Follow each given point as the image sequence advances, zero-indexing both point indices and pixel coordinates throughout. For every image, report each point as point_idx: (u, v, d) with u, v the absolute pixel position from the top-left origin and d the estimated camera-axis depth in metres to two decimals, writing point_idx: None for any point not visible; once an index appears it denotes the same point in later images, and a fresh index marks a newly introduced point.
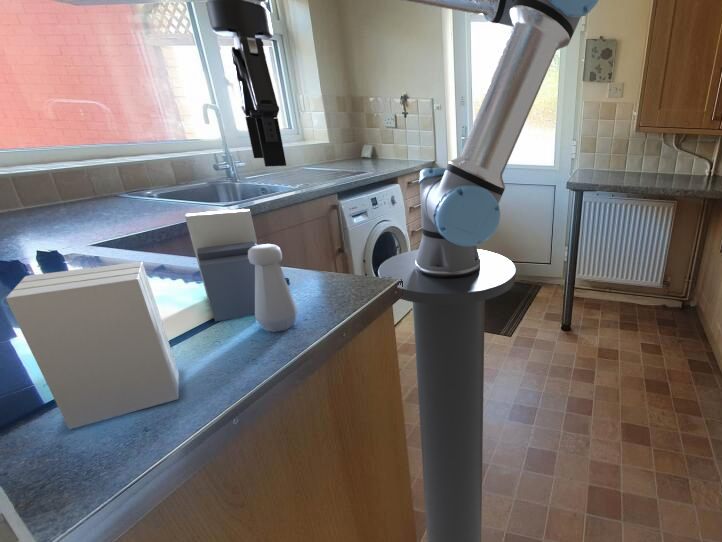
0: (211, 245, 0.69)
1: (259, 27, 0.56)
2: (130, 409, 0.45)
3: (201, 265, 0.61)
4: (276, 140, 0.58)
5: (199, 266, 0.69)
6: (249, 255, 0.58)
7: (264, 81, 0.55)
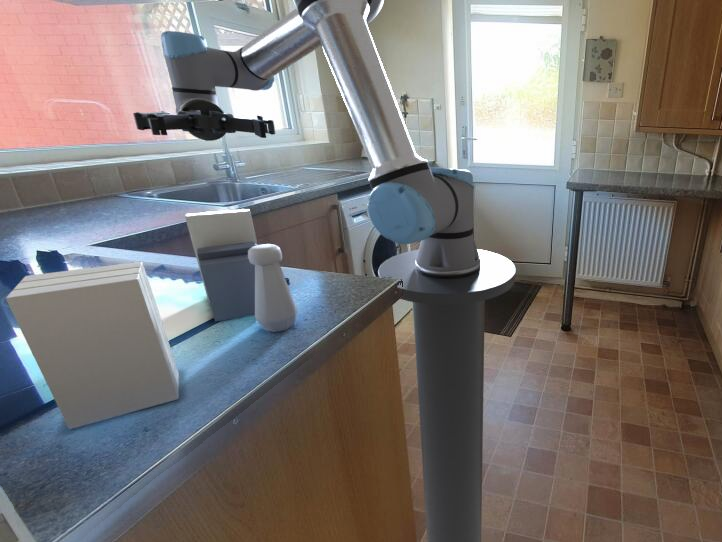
0: (211, 245, 0.69)
1: (181, 109, 0.77)
2: (130, 409, 0.45)
3: (201, 265, 0.61)
4: (149, 120, 0.65)
5: (199, 266, 0.69)
6: (249, 255, 0.58)
7: None
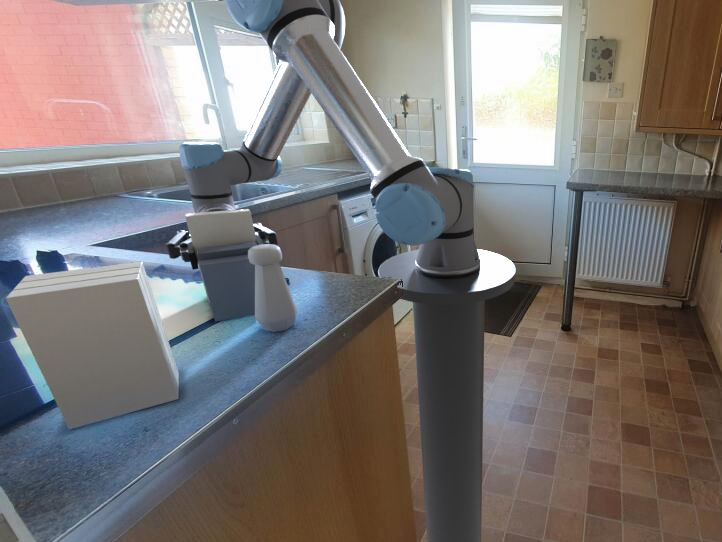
0: (211, 245, 0.69)
1: None
2: (130, 409, 0.45)
3: (201, 265, 0.61)
4: (181, 253, 0.67)
5: (199, 266, 0.69)
6: (249, 255, 0.58)
7: None
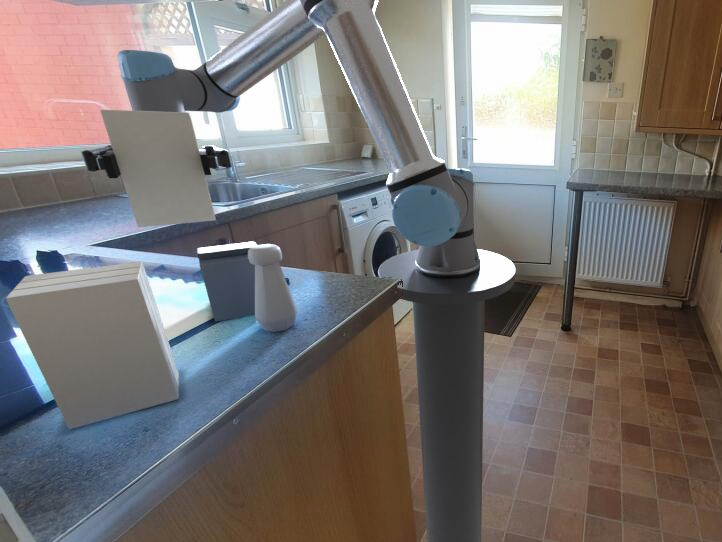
0: (138, 153, 0.54)
1: None
2: (130, 409, 0.45)
3: (201, 265, 0.61)
4: (97, 160, 0.52)
5: (123, 179, 0.54)
6: (249, 255, 0.58)
7: None
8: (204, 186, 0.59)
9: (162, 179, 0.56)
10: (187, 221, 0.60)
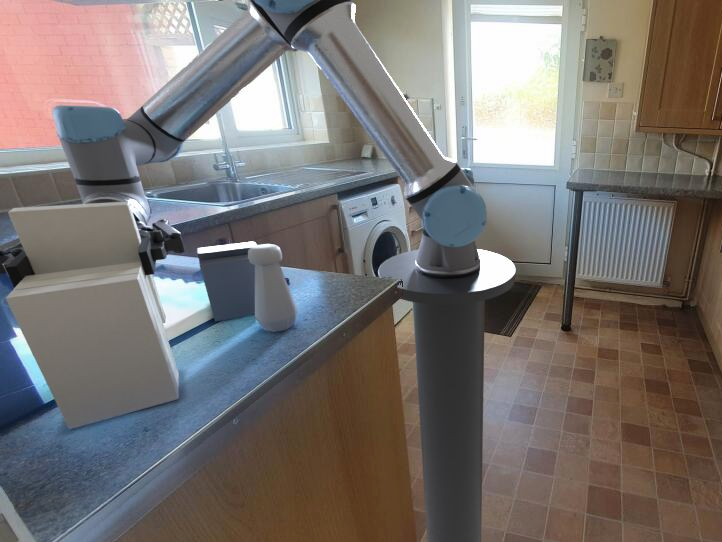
0: (61, 257, 0.44)
1: None
2: (130, 409, 0.45)
3: (201, 265, 0.61)
4: (4, 266, 0.42)
5: None
6: (249, 255, 0.58)
7: None
8: None
9: None
10: None
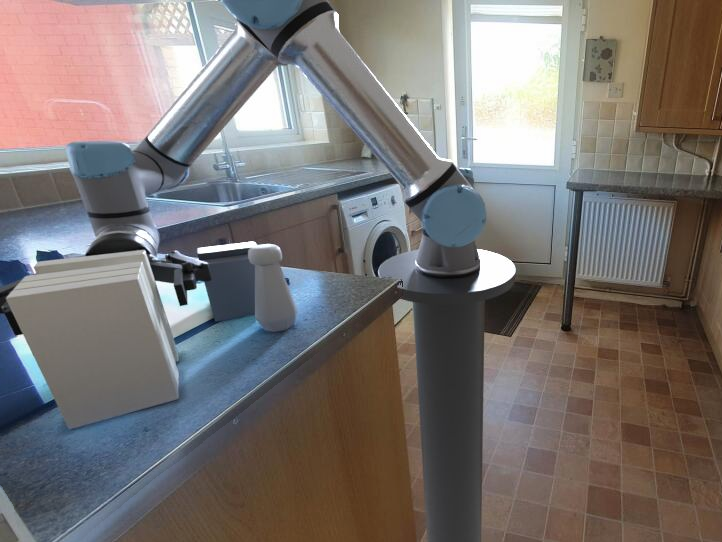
0: None
1: (85, 254, 0.57)
2: (130, 409, 0.45)
3: None
4: (3, 309, 0.44)
5: None
6: (249, 255, 0.58)
7: None
8: None
9: None
10: None
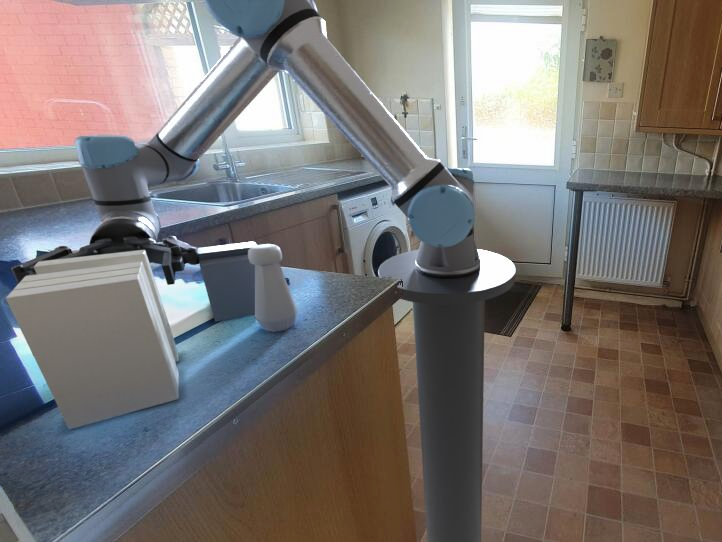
0: None
1: (91, 237, 0.62)
2: (130, 409, 0.45)
3: (201, 265, 0.61)
4: None
5: None
6: (249, 255, 0.58)
7: None
8: None
9: None
10: None
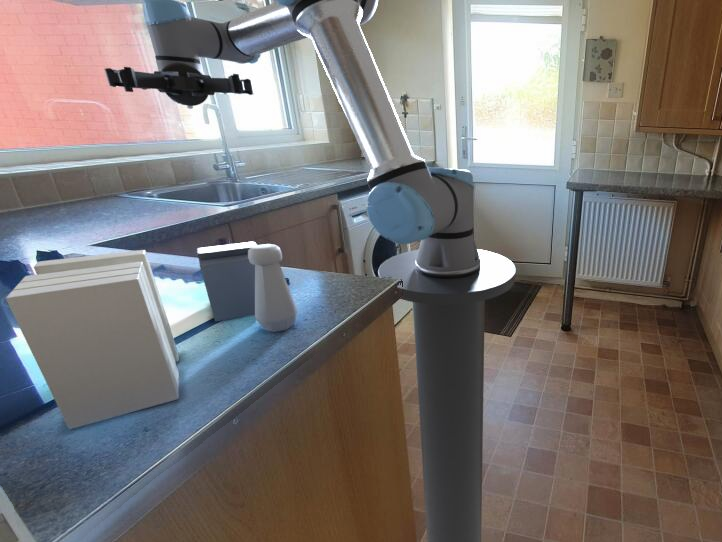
0: None
1: None
2: (130, 409, 0.45)
3: (201, 265, 0.61)
4: (118, 73, 0.63)
5: None
6: (249, 255, 0.58)
7: None
8: None
9: None
10: None
